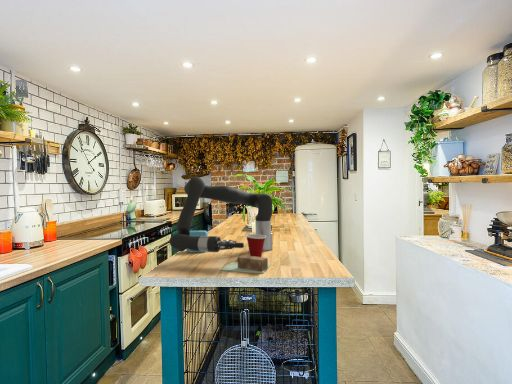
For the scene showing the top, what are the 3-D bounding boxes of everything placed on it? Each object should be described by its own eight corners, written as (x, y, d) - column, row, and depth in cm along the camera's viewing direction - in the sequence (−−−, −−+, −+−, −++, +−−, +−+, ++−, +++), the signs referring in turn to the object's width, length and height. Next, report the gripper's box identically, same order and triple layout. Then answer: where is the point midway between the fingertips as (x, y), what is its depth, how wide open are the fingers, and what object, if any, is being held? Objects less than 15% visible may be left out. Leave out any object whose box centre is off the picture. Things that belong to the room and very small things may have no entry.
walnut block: (237, 257, 147) (262, 260, 141) (243, 254, 152) (267, 257, 145) (237, 267, 148) (262, 271, 141) (243, 265, 152) (267, 268, 145)
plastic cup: (264, 260, 164) (264, 237, 163) (244, 259, 166) (243, 236, 166) (268, 255, 174) (267, 233, 174) (248, 255, 176) (248, 233, 176)
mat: (220, 270, 146) (220, 269, 146) (231, 263, 159) (231, 261, 159) (263, 273, 140) (263, 272, 140) (270, 265, 153) (270, 264, 153)
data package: (208, 250, 190) (207, 230, 189) (206, 252, 185) (206, 231, 185) (188, 250, 191) (188, 230, 190) (186, 252, 186) (185, 231, 186)
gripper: (203, 238, 148) (238, 239, 143) (214, 234, 161) (247, 235, 156) (203, 254, 148) (238, 256, 143) (215, 248, 161) (247, 250, 156)
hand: (243, 245), depth 150 cm, fingers closed
